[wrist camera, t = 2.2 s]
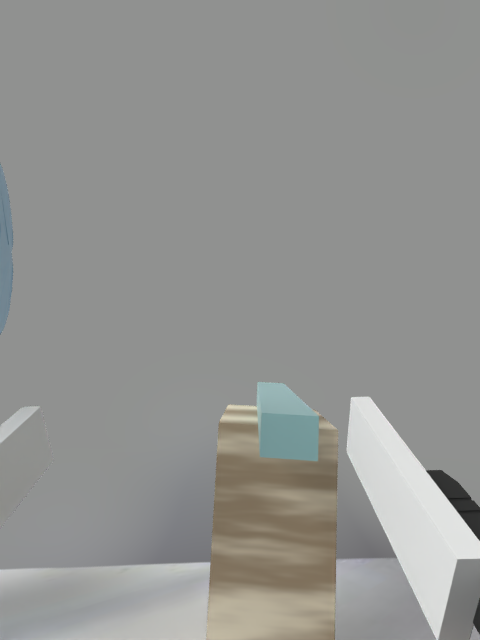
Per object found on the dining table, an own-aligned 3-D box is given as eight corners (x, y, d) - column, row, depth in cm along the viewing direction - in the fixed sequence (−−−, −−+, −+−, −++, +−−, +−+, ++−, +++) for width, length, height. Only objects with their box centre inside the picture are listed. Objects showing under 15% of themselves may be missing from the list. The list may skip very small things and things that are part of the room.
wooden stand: (332, 777, 28) (338, 430, 31) (199, 761, 28) (218, 422, 32) (308, 650, 40) (314, 409, 43) (215, 641, 40) (228, 404, 44)
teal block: (317, 461, 21) (318, 416, 22) (259, 457, 22) (261, 412, 22) (283, 403, 47) (283, 383, 47) (256, 401, 47) (257, 381, 48)
